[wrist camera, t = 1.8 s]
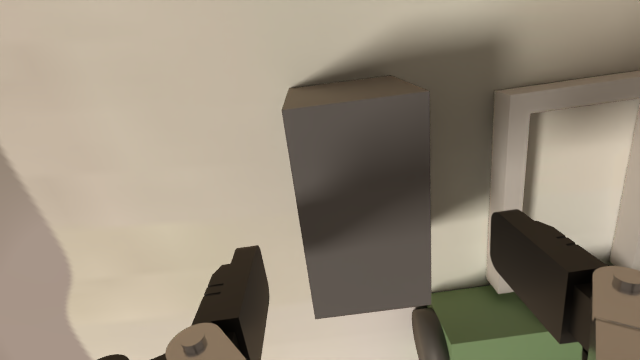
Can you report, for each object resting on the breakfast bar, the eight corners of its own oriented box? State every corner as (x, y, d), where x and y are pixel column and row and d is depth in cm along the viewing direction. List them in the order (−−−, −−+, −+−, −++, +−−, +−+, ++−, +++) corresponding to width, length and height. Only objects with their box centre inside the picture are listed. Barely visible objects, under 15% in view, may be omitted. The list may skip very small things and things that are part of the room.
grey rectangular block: (288, 88, 18) (281, 110, 12) (389, 75, 18) (429, 91, 12) (312, 244, 21) (315, 319, 15) (397, 233, 21) (431, 304, 15)
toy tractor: (401, 104, 18) (529, 188, 8) (761, 52, 18) (1388, 69, 7) (416, 406, 26) (488, 645, 16) (664, 373, 26) (902, 593, 15)
